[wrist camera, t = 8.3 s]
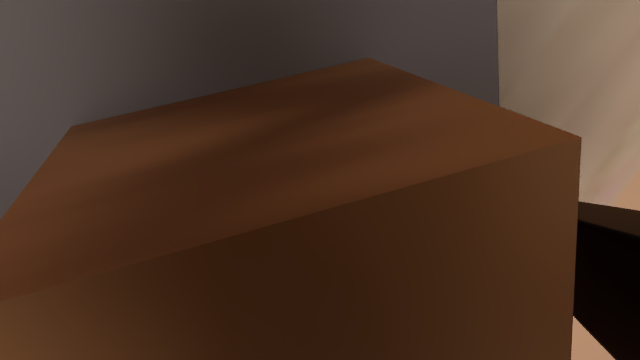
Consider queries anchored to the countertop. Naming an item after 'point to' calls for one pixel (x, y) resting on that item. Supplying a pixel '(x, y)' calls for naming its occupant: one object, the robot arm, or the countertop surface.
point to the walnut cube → (298, 229)
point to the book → (210, 56)
